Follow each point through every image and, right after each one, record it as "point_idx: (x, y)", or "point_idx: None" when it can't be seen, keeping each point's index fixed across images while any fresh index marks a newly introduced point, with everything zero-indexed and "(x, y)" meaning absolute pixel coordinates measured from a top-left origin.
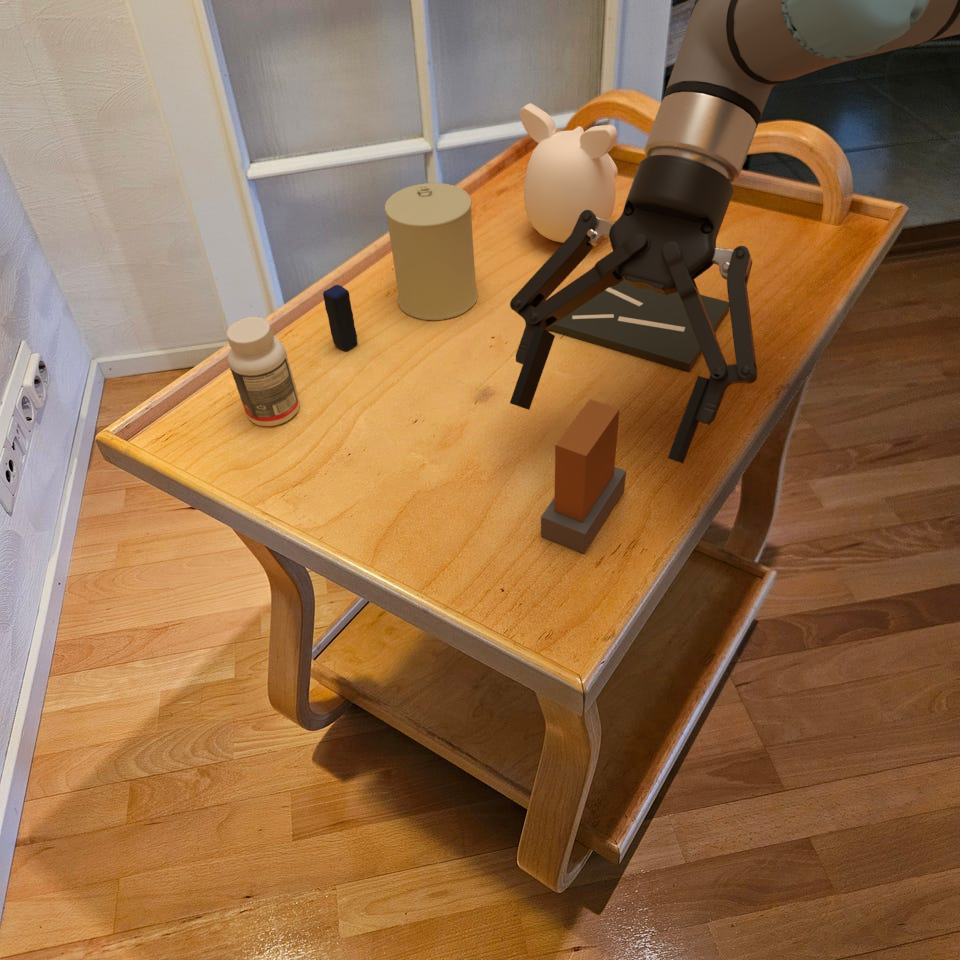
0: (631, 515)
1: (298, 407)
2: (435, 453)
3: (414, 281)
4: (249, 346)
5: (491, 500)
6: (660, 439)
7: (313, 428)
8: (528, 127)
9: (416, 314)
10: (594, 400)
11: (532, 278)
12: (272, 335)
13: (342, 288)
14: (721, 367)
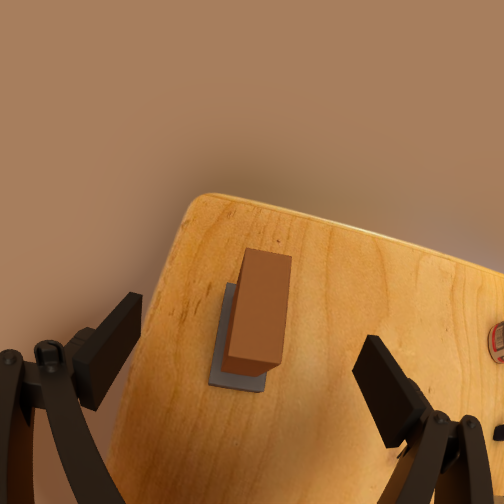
0: (192, 353)
1: (491, 351)
2: (399, 362)
3: (497, 499)
4: None
5: (330, 328)
6: (190, 471)
7: (475, 342)
8: None
9: None
10: (272, 362)
11: (486, 457)
12: None
13: None
14: (45, 371)
